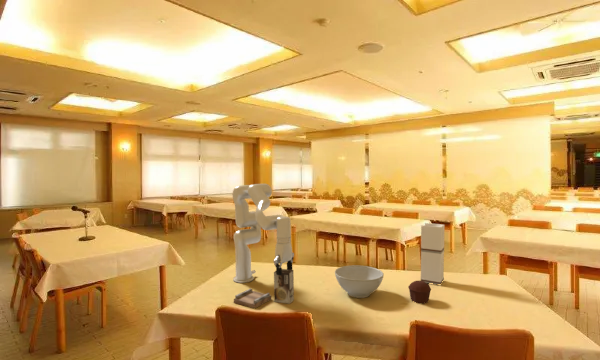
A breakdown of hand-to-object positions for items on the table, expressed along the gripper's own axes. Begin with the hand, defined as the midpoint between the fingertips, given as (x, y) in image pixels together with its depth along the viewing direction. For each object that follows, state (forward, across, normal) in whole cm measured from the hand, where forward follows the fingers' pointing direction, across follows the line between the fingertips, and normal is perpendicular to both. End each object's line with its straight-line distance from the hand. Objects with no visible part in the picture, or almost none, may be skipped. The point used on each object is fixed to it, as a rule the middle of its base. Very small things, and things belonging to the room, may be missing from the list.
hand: (284, 272), depth 178 cm
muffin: (+16, -38, +60) cm, 73 cm away
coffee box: (+16, 0, -1) cm, 16 cm away
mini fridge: (+16, -72, +60) cm, 95 cm away
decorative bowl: (+16, -30, +29) cm, 45 cm away
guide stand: (+15, +9, -15) cm, 23 cm away
